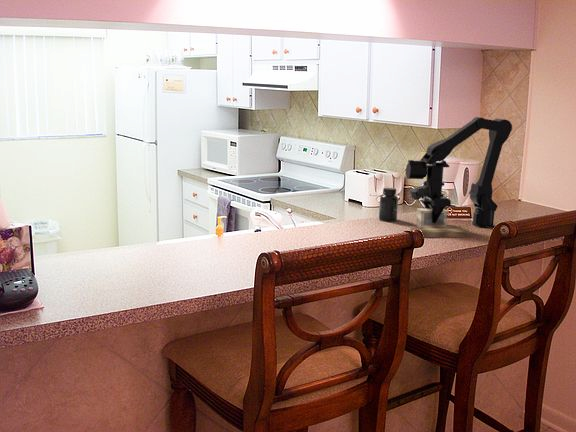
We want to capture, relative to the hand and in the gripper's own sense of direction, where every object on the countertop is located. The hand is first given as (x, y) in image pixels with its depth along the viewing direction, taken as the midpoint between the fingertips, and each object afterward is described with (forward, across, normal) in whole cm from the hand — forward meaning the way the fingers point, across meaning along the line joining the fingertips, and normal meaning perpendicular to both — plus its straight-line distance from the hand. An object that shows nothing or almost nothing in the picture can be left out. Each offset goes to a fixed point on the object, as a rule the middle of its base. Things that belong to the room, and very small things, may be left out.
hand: (431, 221), depth 248 cm
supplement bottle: (+2, -11, -13) cm, 17 cm away
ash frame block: (+2, 0, 0) cm, 2 cm away
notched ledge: (+2, +13, -2) cm, 13 cm away
